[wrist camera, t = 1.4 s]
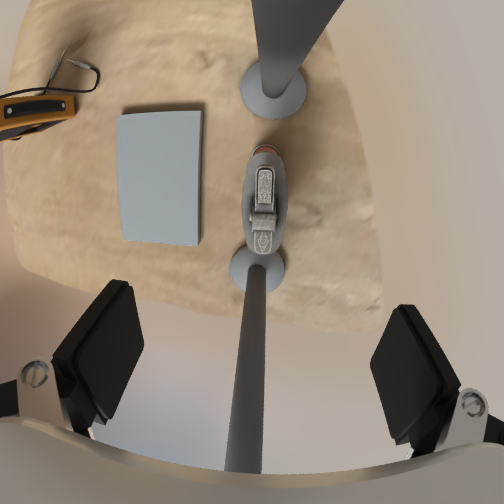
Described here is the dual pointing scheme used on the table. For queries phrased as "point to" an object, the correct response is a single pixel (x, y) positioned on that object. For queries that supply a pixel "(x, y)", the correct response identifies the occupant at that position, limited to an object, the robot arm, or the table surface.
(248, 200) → the lighter
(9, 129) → the multimeter
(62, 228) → the table surface
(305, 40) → the post
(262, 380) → the far cord post
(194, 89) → the table surface
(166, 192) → the mat
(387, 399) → the robot arm
